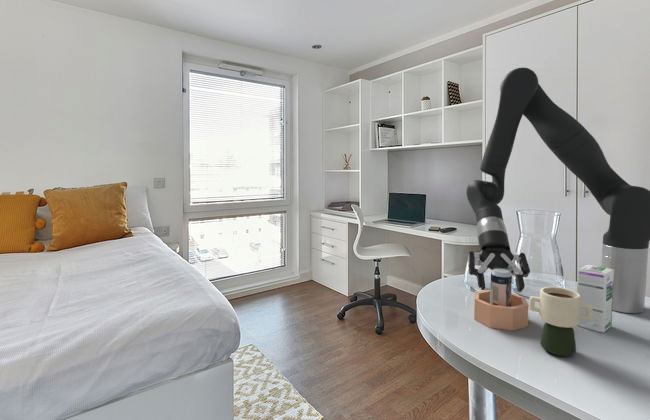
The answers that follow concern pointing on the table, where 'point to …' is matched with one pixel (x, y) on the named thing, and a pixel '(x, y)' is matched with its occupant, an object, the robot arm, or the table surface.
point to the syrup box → (596, 296)
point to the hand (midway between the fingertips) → (501, 289)
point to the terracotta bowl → (501, 312)
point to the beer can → (500, 287)
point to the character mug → (559, 318)
